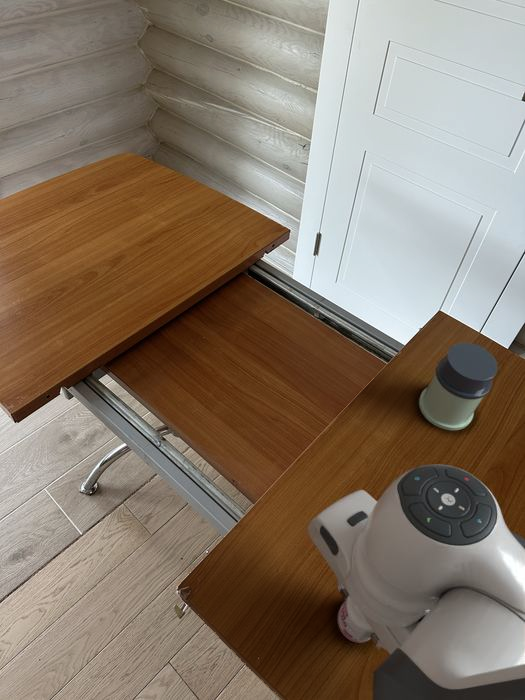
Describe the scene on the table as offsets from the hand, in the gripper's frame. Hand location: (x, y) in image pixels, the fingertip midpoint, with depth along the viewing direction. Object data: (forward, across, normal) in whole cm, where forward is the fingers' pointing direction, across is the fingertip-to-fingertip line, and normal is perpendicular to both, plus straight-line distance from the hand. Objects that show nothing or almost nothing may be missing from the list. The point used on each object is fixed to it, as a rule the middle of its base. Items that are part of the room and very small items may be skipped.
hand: (361, 614), depth 60 cm
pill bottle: (+3, 0, 0) cm, 3 cm away
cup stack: (+3, +18, -34) cm, 38 cm away
